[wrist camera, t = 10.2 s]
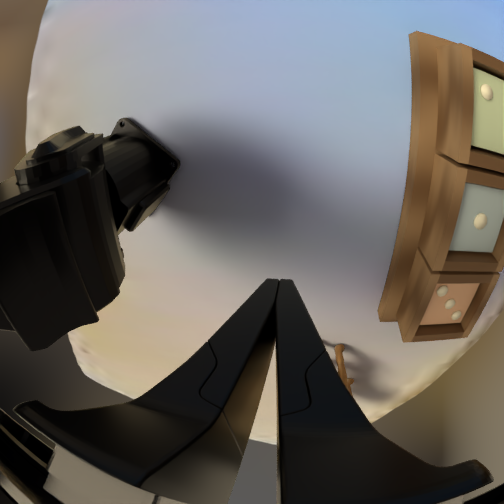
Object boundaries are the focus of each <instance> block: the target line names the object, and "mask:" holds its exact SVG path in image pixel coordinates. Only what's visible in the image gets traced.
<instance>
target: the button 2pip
mask: <svg viewBox="0 0 504 504" xmlns="http://www.w3.org/2000/svg"><path fill="white" fill-rule="evenodd" d="M473 76H474V109H473V127H472V139H471V145H473V146H476V147H480V148H484V149H487V150H491V151H494V152H498V153H501V154H504V81H503V80H501V79H499V78H497V77H495V76H492V75H490V74H488V73H486V72H483V71H481V70H478V69H476V68H473Z"/></svg>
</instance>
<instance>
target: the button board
mask: <svg viewBox="0 0 504 504" xmlns="http://www.w3.org/2000/svg"><path fill="white" fill-rule="evenodd" d="M409 42H410V54H411V73H412V116H411V136H410V150H409V160H408V170H407V178H406V186H405V193H404V199H403V206H402V212H401V217H400V223H399V228H398V233H397V238H396V243H395V247H394V252H393V256H392V260H391V264H390V268H389V272H388V276H387V280H386V283H385V287H384V291H383V294H382V298H381V301H380V304H379V308H378V315H379V319H380V322H398V324H399V328H400V332H401V336H402V340H403V342H420V341H434V340H446V339H456V338H465V337H468V335H469V333H470V332H471V330H472V328H473V327H474V325H475V323H476V322H477V320H478V318H479V316H480V315H481V313H482V311H483V309H484V307H485V305H486V303H487V301H488V299H489V297H490V295H491V293H492V291H493V289H494V287H495V285H496V283H497V281H498V278H499V276H500V274H499V273H498V272H502V269H503V267H504V218H503V222H502V225H501V228H500V231H499V235H498V238H497V241H496V244H495V246H494V249H493V252H492V253H491V252H473V251H453V250H449V247H450V244H451V241H452V237H453V234H454V230H455V226H456V223H457V219H458V215H459V211H460V206H461V202H462V197H463V192H464V187H465V182H468V183H474V184H479V185H484V186H489V187H494V188H498V189H503V190H504V154H501V153H498V152H494V151H491V150H487V149H484V148H480V147H476V146H473V145H471V139H472V127H473V109H474V76H473V68H476V69H478V70H481V71H483V72H486V73H488V74H490V75H492V76H495V77H497V78H499V79H501V80H503V81H504V62H502V61H500V60H498V59H496V58H494V57H492V56H490V55H488V54H486V53H483V52H481V51H479V50H477V49H474V48H472V47H469V46H467V45H464V44H462V43H459V44H457V43H454V42H452V41H449V40H446V39H443V38H439V37H436V36H433V35H430V34H426V33H422V32H419V31H416V32H413V33H411V34H409ZM464 283H480V284H479V286H478V288H477V291H476V293H475V295H474V297H473V299H472V301H471V303H470V305H469V307H468V309H467V311H466V313H465V315H464V317H463V319H462V320H461V322H460V323H447V324H431V325H420V323H421V320H422V318H423V316H424V314H425V312H426V309H427V307H428V305H429V302H430V300H431V297H432V295H433V293H434V290H435V287H436V285H437V284H464Z"/></svg>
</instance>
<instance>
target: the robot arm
mask: <svg viewBox="0 0 504 504" xmlns="http://www.w3.org/2000/svg"><path fill="white" fill-rule="evenodd" d="M123 122H124V124H125V125H124V126H123V125H122V123H123ZM171 162H173V163H174V164H175V167H173V166H172V165H171ZM179 167H180V161H179V160H178V159H177V158H176V157H175V156H173V155H172V154H171V153H170V152H169V151H167V150H166V149H165V148H164V147H162V146H161V145H160V144H159V143H158V142H156V141H155V140H154V139H153V138H151V137H150V136H149V135H148V134H146V133H145V132H144V131H143V130H141V129H140V128H139V127H138V126H136V125H135V124H134V123H133V122H131V121H130V120H129V119H127V118H122V119H119V121H118V122H117V124H116V126H115V128H114V130H113V132H112V134H111V135H110V136H107V137H104V138H103V134H95V135H94V133H87V132H85V131H84V130H83V129H82V128H81V127H80V126H76V127H72V128H69V129H66V130H63V131H60V132H58V133H55V134H53V135H51V136H50V137H48V138H47V139H45V140H44V141H42V142H41V143H39V144H38V146H37V148H36V149H33V150H31V151H29V152H28V153H27V154H26V156H25V157H24V158H23V159H22V160H21V161H20V162H19V163H18V165H17V166H16V167H15V169H14V170H15V175H16V176H14V177H12V178H9V179H7V180H5V181H3V182H1V183H0V330H7V331H15V332H16V333H17V334H18V335H19V337H20V338H21V340H22V341H23V342H24V344H25V345H26V347H27V348H28V349H29V350H30V351H36V350H41V349H45V348H48V347H49V346H50V345H52V344H53V343H54V342H55V341H57V340H58V339H59V338H60V337H62V336H63V335H65V334H66V333H68V332H69V331H71V330H74V329H76V328H78V327H80V326H83V325H87V324H92V323H96V322H98V321H99V317H98V315H97V313H96V312H98V311H100V310H101V309H103V308H104V307H106V306H107V305H108V304H110V303H111V302H112V301H113V300H114V299H115V298H116V297H117V296H118V295H119V293H120V290H119V287H120V285H121V283H122V281H123V279H124V277H125V263H124V260H123V258H124V253H123V249H122V248H121V247H120V242H119V238H118V235H119V234H120V233H121V232H122V231H123V230H124V229H126V230H128V231H129V232H131V231H134V230H135V229H136V228H137V227H138V226H139V225H140V224H141V223H142V222H143V221H144V220H145V219H146V218H147V217H148V216H149V215H150V214H151V213H152V212H153V211H154V210H155V209H156V208H157V207H158V205H159V204H160V202H161V201H162V199H163V198H164V196H165V195H166V193H167V192H168V191H169V189H170V185H169V184H168V183H169V181H170V180H171V178H172V177H173V175H174V174H175V173H176V171H177V170H178V168H179ZM275 341H276V390H277V504H504V483H503V484H501V485H499V486H497V487H495V488H493V489H491V490H489V491H487V492H485V493H483V494H480V495H478V496H476V497H474V498H471V499H469V500H467V501H464V498H463V497H464V494H467V493H469V492H472V491H474V490H476V489H478V488H481V487H483V486H485V485H487V484H489V483H491V482H493V480H494V479H493V476H492V474H491V473H490V471H489V470H488V469H487V468H486V467H485V466H484V465H483V464H481V463H480V462H479V461H478V460H475V459H474V460H469V461H466V462H463V463H460V464H456V465H453V466H449V467H439V466H435V465H431V464H429V463H426V462H424V461H423V460H421V459H420V458H418V457H416V456H415V455H413V454H411V453H410V452H408V451H406V450H405V449H403V448H402V447H400V446H398V445H397V444H395V443H393V442H392V441H390V440H389V439H387V438H386V437H384V436H383V435H382V434H380V433H379V432H378V431H377V430H376V429H375V428H374V427H373V426H372V424H371V423H370V422H369V420H368V419H367V418H366V416H365V415H364V413H363V412H362V410H361V408H360V407H359V405H358V404H357V402H356V401H355V399H354V398H353V396H352V395H351V393H350V392H349V390H348V389H347V387H346V386H345V384H344V382H343V381H342V379H341V377H340V376H339V374H338V372H337V370H336V368H335V367H334V365H333V363H332V361H331V359H330V356H329V354H328V352H327V351H326V348H325V346H324V344H323V342H322V340H321V338H320V336H319V333H318V331H317V329H316V327H315V325H314V323H313V321H312V319H311V317H310V315H309V313H308V311H307V308H306V306H305V304H304V302H303V300H302V298H301V296H300V294H299V292H298V290H297V288H296V286H295V284H294V282H293V280H291V279H281V280H280V281H279V279H266V280H265V281H264V282H263V283H262V284H261V285H260V286H259V287H258V289H257V290H256V291H255V292H254V293H253V294H252V295H251V296H250V297H249V298H248V299H247V300H246V301H245V302H244V303H243V304H242V305H241V307H240V308H239V309H238V310H237V311H236V312H235V313H234V314H233V315H232V316H231V317H230V318H229V319H228V320H227V321H226V322H225V323H224V324H223V325H222V326H221V327H220V328H219V329H218V331H217V332H216V333H215V334H214V335H213V336H212V337H211V338H210V339H209V340H208V342H206V343H205V344H204V345H203V346H202V347H201V348H200V349H199V350H198V351H197V352H196V353H195V354H194V355H192V356H191V357H190V358H189V359H188V360H187V361H186V362H185V363H183V364H182V365H181V366H180V367H179V368H177V369H176V370H175V371H174V372H172V373H171V374H170V375H169V376H167V377H166V378H165V379H163V380H162V381H161V382H159V383H158V384H157V385H155V386H154V387H153V388H152V389H150V390H149V391H148V392H146V393H145V394H143V395H142V396H140V397H138V398H136V399H134V400H132V401H129V402H126V403H121V404H115V405H110V406H103V407H97V408H89V409H82V410H74V411H59V410H55V409H51V408H49V407H47V406H46V405H44V404H43V403H41V402H40V401H38V400H32V401H27V402H24V403H21V404H19V405H17V406H16V407H15V408H13V411H14V412H15V413H16V414H17V415H18V416H19V417H21V418H22V419H23V420H24V421H25V422H27V423H28V424H29V425H31V426H32V427H33V428H34V429H36V430H37V431H38V432H40V433H41V434H42V435H44V436H45V437H47V438H48V439H49V440H51V441H52V442H54V443H55V444H56V446H55V448H54V450H53V449H52V448H50V447H49V446H48V445H46V444H45V443H43V442H42V441H41V440H40V439H38V438H37V437H36V436H34V435H33V434H31V433H30V432H29V431H28V430H26V429H25V428H24V427H22V426H21V425H20V424H19V423H17V422H16V421H15V420H14V419H12V418H11V417H10V416H9V415H7V414H6V413H5V412H4V411H3V410H1V409H0V504H227V503H228V500H229V497H230V495H231V492H232V489H233V486H234V483H235V480H236V477H237V474H238V471H239V468H240V465H241V461H242V458H243V457H242V456H243V455H244V452H245V449H246V446H247V443H248V439H249V436H250V433H251V429H252V426H253V423H254V419H255V416H256V413H257V409H258V406H259V402H260V399H261V395H262V391H263V388H264V384H265V381H266V377H267V373H268V369H269V366H270V362H271V358H272V354H273V350H274V346H275Z"/></svg>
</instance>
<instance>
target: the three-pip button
mask: <svg viewBox="0 0 504 504" xmlns="http://www.w3.org/2000/svg"><path fill="white" fill-rule="evenodd" d="M479 284H480V283H464V284H437V285H436V287H435V290H434V293H433V295H432V297H431V300H430V302H429V305H428V307H427V309H426V312H425V314H424V316H423V318H422V320H421V323H420V325H431V324H447V323H460V322H461V320H462V319H463V317H464V315H465V313H466V311H467V309H468V307H469V305H470V303H471V301H472V299H473V297H474V295H475V293H476V291H477V288H478V286H479Z"/></svg>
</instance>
